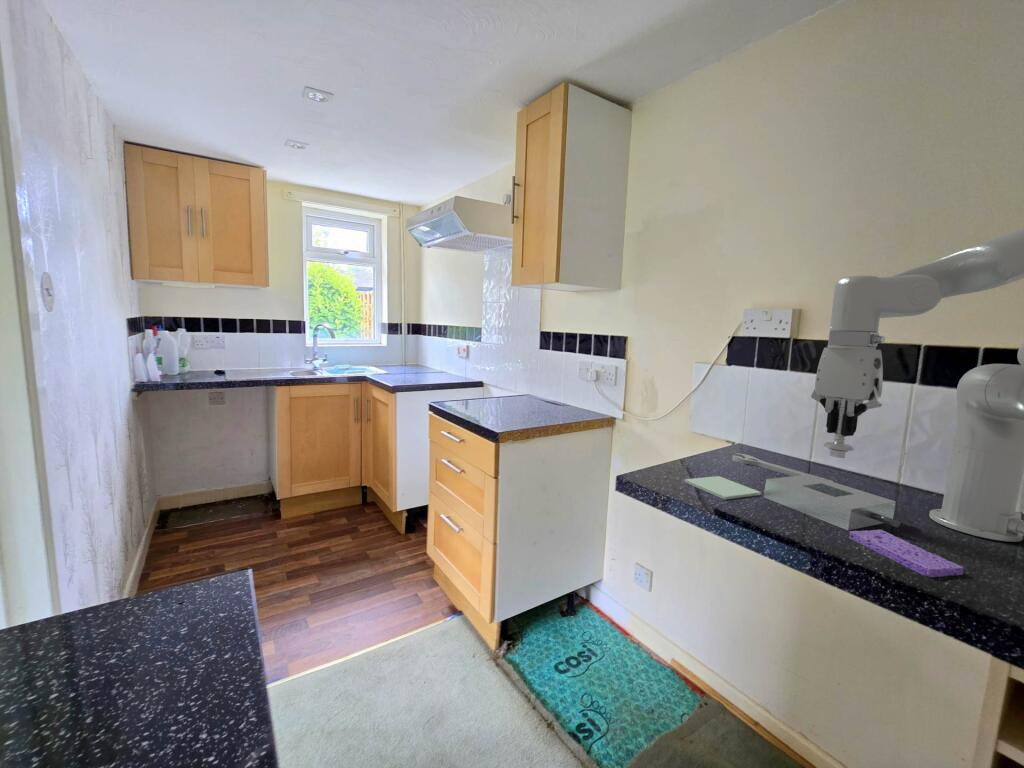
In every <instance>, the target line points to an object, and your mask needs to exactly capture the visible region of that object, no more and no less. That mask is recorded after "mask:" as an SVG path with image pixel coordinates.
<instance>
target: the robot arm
mask: <svg viewBox="0 0 1024 768" xmlns="http://www.w3.org/2000/svg"><path fill="white" fill-rule="evenodd" d="M1022 279H1024V227H1022V228H1019V229H1018V230H1014V231H1011V232H1009V233H1006V234H1003V235H1001V236H999V237H995V238H993V239H990V240H987V241H983V242H981V243H978V244H976V245H974V246H970V247H967V248H965V249H962V250H960V251H957V252H954V253H952V254H950V255H947V256H944V257H941V258H938V259H936V260H934V261H931V262H928V263H925V264H922V265H919V266H917V267H916V266H915V267H914V268H910V269H908V270H906V271H902V272H900V273H897V274H894V275H892V276H885V277H884V276H882V277H881V276H880V277H879V276H874V275H852V276H845V277H842V278H840V279H838V280H837V282H836V283H835V285H834V291H833V298H832V309H831V316H830V317H831V318H830V324H829V325H830V326H829V332H828V341H827V342H828V343H827V347H824V348H823V350H822V353H821V356H820V359H819V362H818V366H817V370H816V375H815V382H814V389H813V392H812V393H811V396H810V397H811V398H812V399H813V400H815V401H817V402H818V403H820V404H821V406H822V407H823V408H824V412H825V413H827V416H826V425H825V426H826V433H828V434H834V433H835V432H836V431H835V430H836V428H835V427H836V424H837V416H838V409H839V408H838V407H839V404H840V401H841V399H847V400H848V406H847V414H846V416H843V420H842V428H841V435H842V436H846V437H851V436H854V435H855V433H856V432H857V426H858V419H859V417H861V415H862V414H863V413H865V412H867V411H868V410H872V409H873V410H874V409H876V408H877V409H878V408H881V407H882V405H883V404H882V400H881V397H882V392H883V383H884V381H883V377H884V370H883V369H884V367H883V366H884V365H883V364H884V363H883V355H882V350H881V349H877V347H878V344H884V343H885V342H886V337H885V336H884V335H879V334H880V333H879V326H880V319H885V318H903V317H905V318H906V317H913V316H914V317H915V316H919V315H923V314H926V313H928V312H930V311H931V310H934V308H936V307H937V306H938V304H939V303H940V302H941V300H942V299H946V298H950V297H955V296H960V295H961V296H962V295H967V294H973V293H978V292H983V291H988V290H991V289H995V288H999V287H1003V286H1005V285H1008V284H1011V283H1014V282H1017V281H1019V280H1022ZM1016 357H1017V361H1018V363H1019V364H1011V363H990V364H983V365H978V366H976V367H974V368H972V369H970V370H968V371H967V372H965V373H964V374H963V375H962V377H961V378H960V379H959V381H958V384H957V388H956V407H957V408H956V409H957V417H956V418H957V419H956V429H955V435H954V439H953V440H954V441H953V444H952V451H951V457H950V463H949V467H948V473H947V478H946V483H945V487H944V492H943V498H942V503H941V504H942V505H941V508H933V509H931V510H930V511H929V515H928V516H929V517H930V519H932V520H933V521H934V522H936V523H938V524H940V525H942V526H944V527H947V528H948V529H949V528H950V529H952V530H955V531H957V532H961V533H965V534H968V535H971V536H975V537H979V538H984V539H988V540H993V541H999V542H1009V543H1012V542H1013V543H1018V542H1021V541H1023V540H1024V520H1023V519H1022V513H1020V512H1017V511H1016V509H1017V503H1018V501H1019V496H1020V495H1019V494H1020V490H1021V486H1022V485H1021V484H1022V481H1023V475H1024V342H1023V343H1022V344H1021V345H1020V347H1019V349H1018V350H1017V356H1016ZM864 401H868V402H864Z"/></svg>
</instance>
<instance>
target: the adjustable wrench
mask: <svg viewBox="0 0 1024 768" xmlns="http://www.w3.org/2000/svg"><path fill="white" fill-rule="evenodd" d="M731 460H732V461H733V462H736V463H740V464H743V465H751V466H754V467H755V466H756V467H760V468H763V469H768V470H771V471H775V472H777V473H781V474H784V475H788V476H790V477H791V476H800V475H812V476H816V477H819V478H822V479H825V480H828V481H832V482H834V481H833V480H831V479H827V478H825V477H821V476H817V475H814V474H810V473H807V472H803V471H799V470H796V469H793V468H788V467H785V466H782V465H778V464H775V463H770V462H767V461H764V460H761V459H759V458H756V457H754V456H752V455H749V454H745V453H737V452H735V453H734V454H733V455H732V458H731Z"/></svg>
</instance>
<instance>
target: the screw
mask: <svg viewBox="0 0 1024 768" xmlns="http://www.w3.org/2000/svg"><path fill="white" fill-rule="evenodd" d="M847 406H848V400H847V399H841V401H840V404H839V407H838V408H839V409H838V416H837V424H836V427H835V428H836V430H835V431H836V432H835V433H833V434H835V435H834V436H833V437H834V438H833V440H834V441H827V442H825V443H823V447H825V448H828V450H829V456H830V457H833V458H838V459H845V458H846V453H848V452H851V451H852V452H853V451H854V447H853V446H852V445H850V444H846V443H845V440H846V437H847V436H842V435H841V428H842V420H843V416H846V414H847Z"/></svg>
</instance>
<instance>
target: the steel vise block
mask: <svg viewBox="0 0 1024 768" xmlns="http://www.w3.org/2000/svg"><path fill="white" fill-rule="evenodd" d="M812 475H813V474H810V475H800V476H791V475H790V476H785V477H776V478H774V477H773V478H766V479H765V485H764V492H763V493H764V494H763V498H765V499H767V500H770V501H772V502H775V503H777V504H779V505H783V506H785V507H787V508H789V509H792V510H794V511H798V512H800V513H803V514H805V515H808V516H811V517H813V518H816V519H818V520H820V521H823V522H826V523H829V524H831V525H833V526H836V527H838V528H841V529H843V530H846V531H854V530H857V529H861V528H866V527H871V526H872V527H873V526H877V525H880V524H881V525H882V524H886V525H889V526H892V527H895V528H899V527H901V521H900V520H897V519H894V514H895V509H896V502H897V501H896V500H892V499H890V498H889V499H888V498H886V497H882V496H880V495H876V494H872V493H870V492H867V491H863V490H860V489H857V488H853V487H850V486H847V485H844V484H840V483H837V482H834V481H833V480H831V481H828V480H829V479H828V480H825V479H826V478H825V479H822V478H823V477H821V478H819V477H820V476H818V477H816V476H817V475H814V476H812ZM832 481H833V482H832Z"/></svg>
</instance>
